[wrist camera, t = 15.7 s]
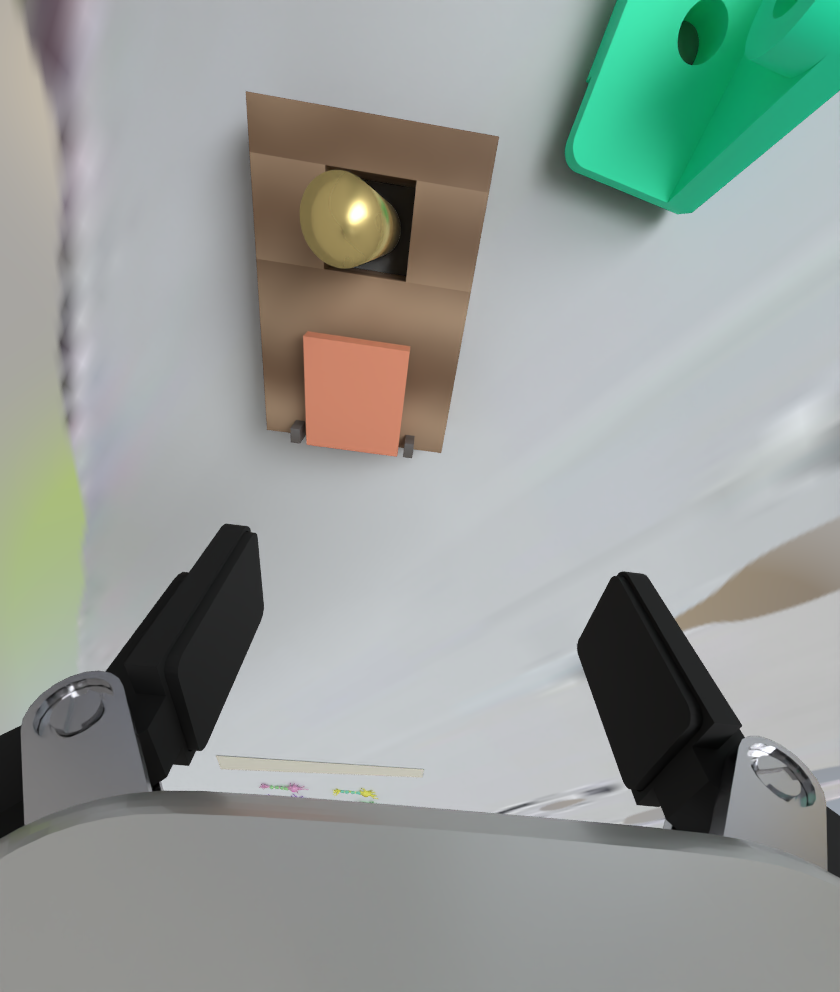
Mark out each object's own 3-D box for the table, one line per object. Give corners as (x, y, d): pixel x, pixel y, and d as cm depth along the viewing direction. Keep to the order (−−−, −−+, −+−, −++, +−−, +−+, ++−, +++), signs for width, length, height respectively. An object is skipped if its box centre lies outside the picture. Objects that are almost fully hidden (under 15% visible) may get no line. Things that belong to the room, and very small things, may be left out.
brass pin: (353, 193, 24) (298, 162, 14) (403, 202, 25) (385, 177, 14) (350, 252, 26) (300, 262, 16) (398, 259, 26) (378, 274, 16)
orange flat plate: (307, 331, 24) (303, 336, 23) (410, 346, 24) (409, 351, 23) (310, 437, 28) (306, 444, 27) (398, 449, 28) (396, 456, 28)
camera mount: (682, -175, 18) (930, -578, 9) (828, -92, 19) (1177, -378, 10) (552, 167, 24) (624, 127, 15) (668, 214, 25) (797, 202, 16)
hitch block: (273, 113, 23) (233, 81, 18) (488, 151, 23) (503, 130, 19) (284, 408, 32) (259, 438, 27) (439, 430, 32) (441, 462, 28)
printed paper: (423, 767, 61) (423, 778, 59) (408, 842, 77) (407, 852, 76) (217, 753, 60) (212, 764, 58) (245, 833, 76) (242, 843, 75)
